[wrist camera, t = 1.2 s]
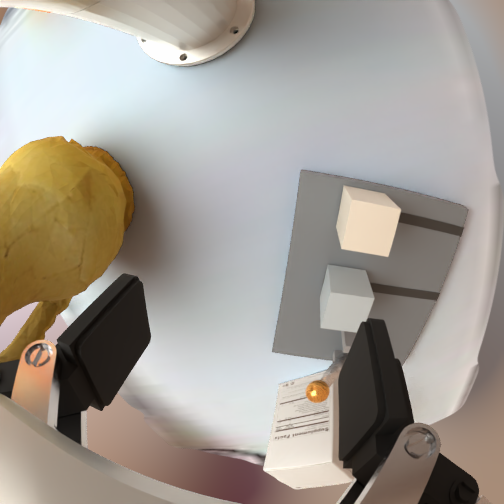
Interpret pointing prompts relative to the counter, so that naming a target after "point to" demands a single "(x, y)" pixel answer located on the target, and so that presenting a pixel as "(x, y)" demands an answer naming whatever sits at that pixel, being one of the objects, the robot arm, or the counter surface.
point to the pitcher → (56, 229)
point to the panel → (364, 266)
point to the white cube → (345, 298)
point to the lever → (325, 381)
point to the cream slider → (367, 221)
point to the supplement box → (305, 438)
